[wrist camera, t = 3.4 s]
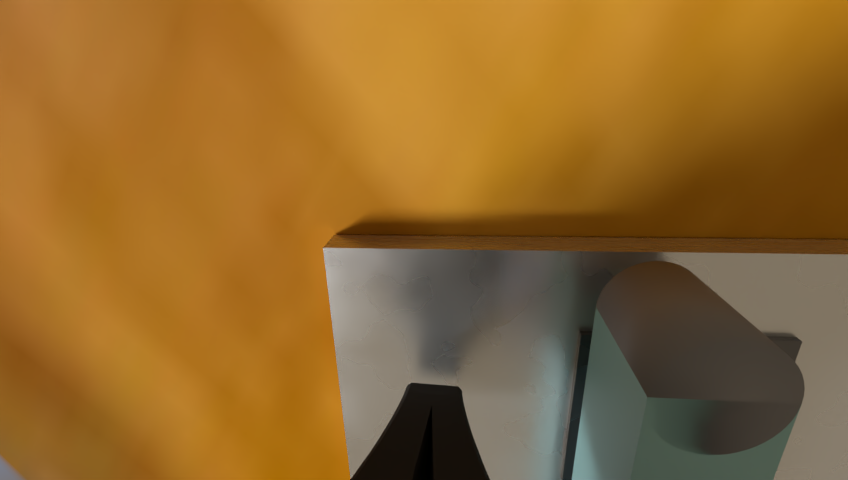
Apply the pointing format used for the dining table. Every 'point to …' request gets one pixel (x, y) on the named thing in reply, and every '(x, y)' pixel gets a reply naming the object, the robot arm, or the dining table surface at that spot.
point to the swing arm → (681, 385)
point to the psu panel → (564, 333)
